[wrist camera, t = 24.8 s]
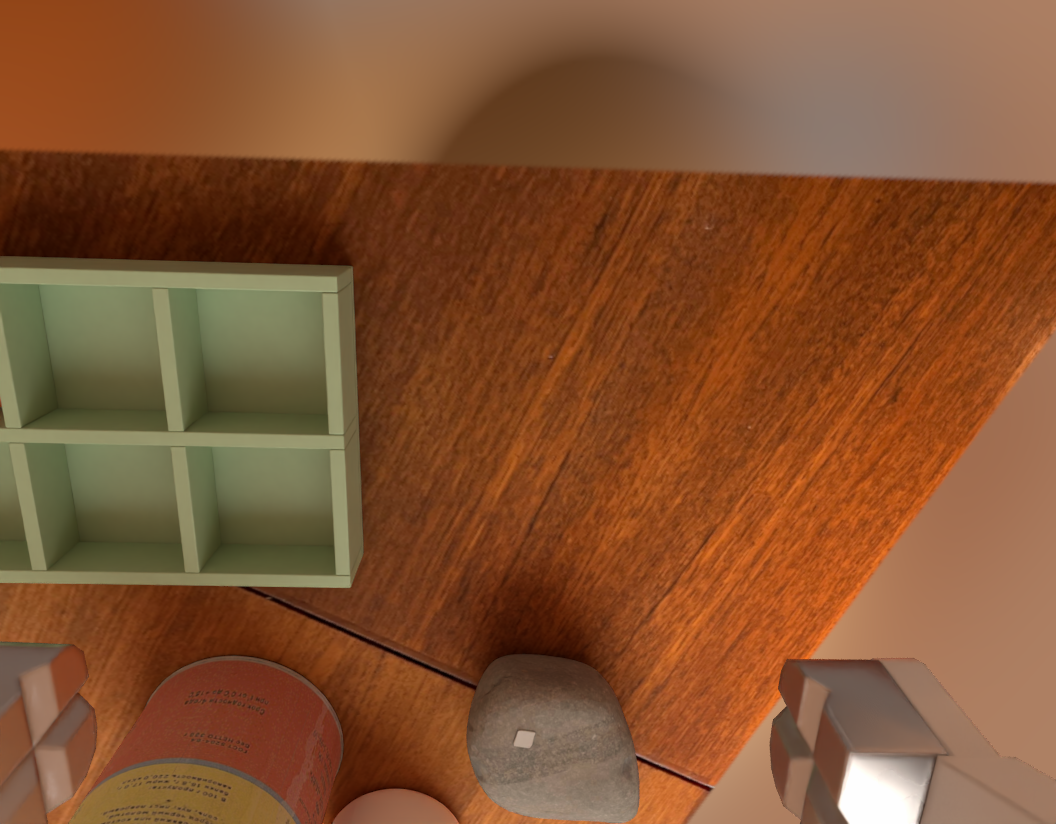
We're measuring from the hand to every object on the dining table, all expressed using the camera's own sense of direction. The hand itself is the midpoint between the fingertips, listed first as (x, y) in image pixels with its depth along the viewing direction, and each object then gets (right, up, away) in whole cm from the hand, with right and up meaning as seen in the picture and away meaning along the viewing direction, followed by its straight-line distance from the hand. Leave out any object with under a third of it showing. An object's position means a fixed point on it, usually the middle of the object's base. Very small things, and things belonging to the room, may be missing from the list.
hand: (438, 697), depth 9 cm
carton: (-18, +3, +29) cm, 34 cm away
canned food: (-15, -15, +35) cm, 41 cm away
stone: (+2, -14, +35) cm, 37 cm away
